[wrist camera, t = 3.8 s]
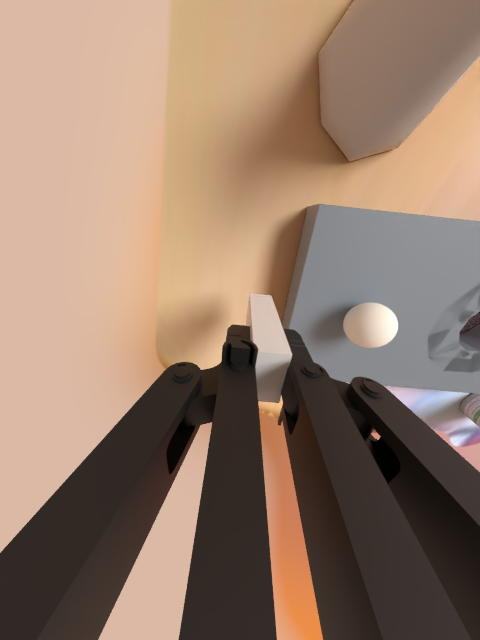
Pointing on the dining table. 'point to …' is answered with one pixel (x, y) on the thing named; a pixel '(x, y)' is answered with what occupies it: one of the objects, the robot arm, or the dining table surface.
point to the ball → (370, 325)
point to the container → (472, 407)
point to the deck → (389, 295)
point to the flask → (393, 68)
